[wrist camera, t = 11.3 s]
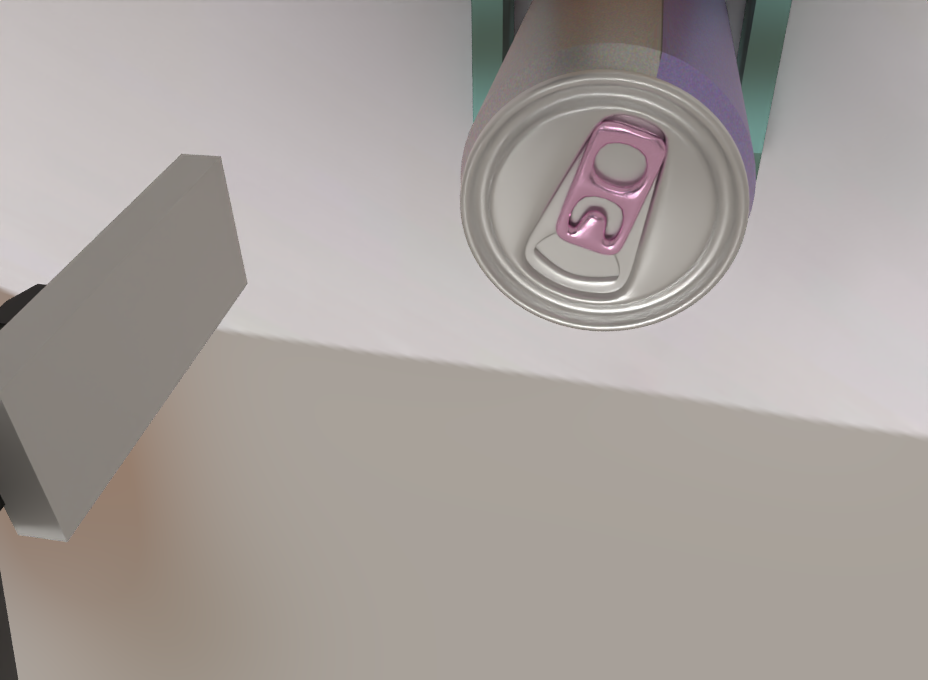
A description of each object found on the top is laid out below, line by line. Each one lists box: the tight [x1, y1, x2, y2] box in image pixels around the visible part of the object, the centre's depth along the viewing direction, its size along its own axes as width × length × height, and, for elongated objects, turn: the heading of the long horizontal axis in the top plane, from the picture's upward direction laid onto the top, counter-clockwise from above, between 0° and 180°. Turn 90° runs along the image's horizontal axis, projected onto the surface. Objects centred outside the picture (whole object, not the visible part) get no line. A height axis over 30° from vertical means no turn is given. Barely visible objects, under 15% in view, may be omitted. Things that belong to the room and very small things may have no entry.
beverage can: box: [460, 0, 756, 331], centre depth 23 cm, size 6×6×15 cm
